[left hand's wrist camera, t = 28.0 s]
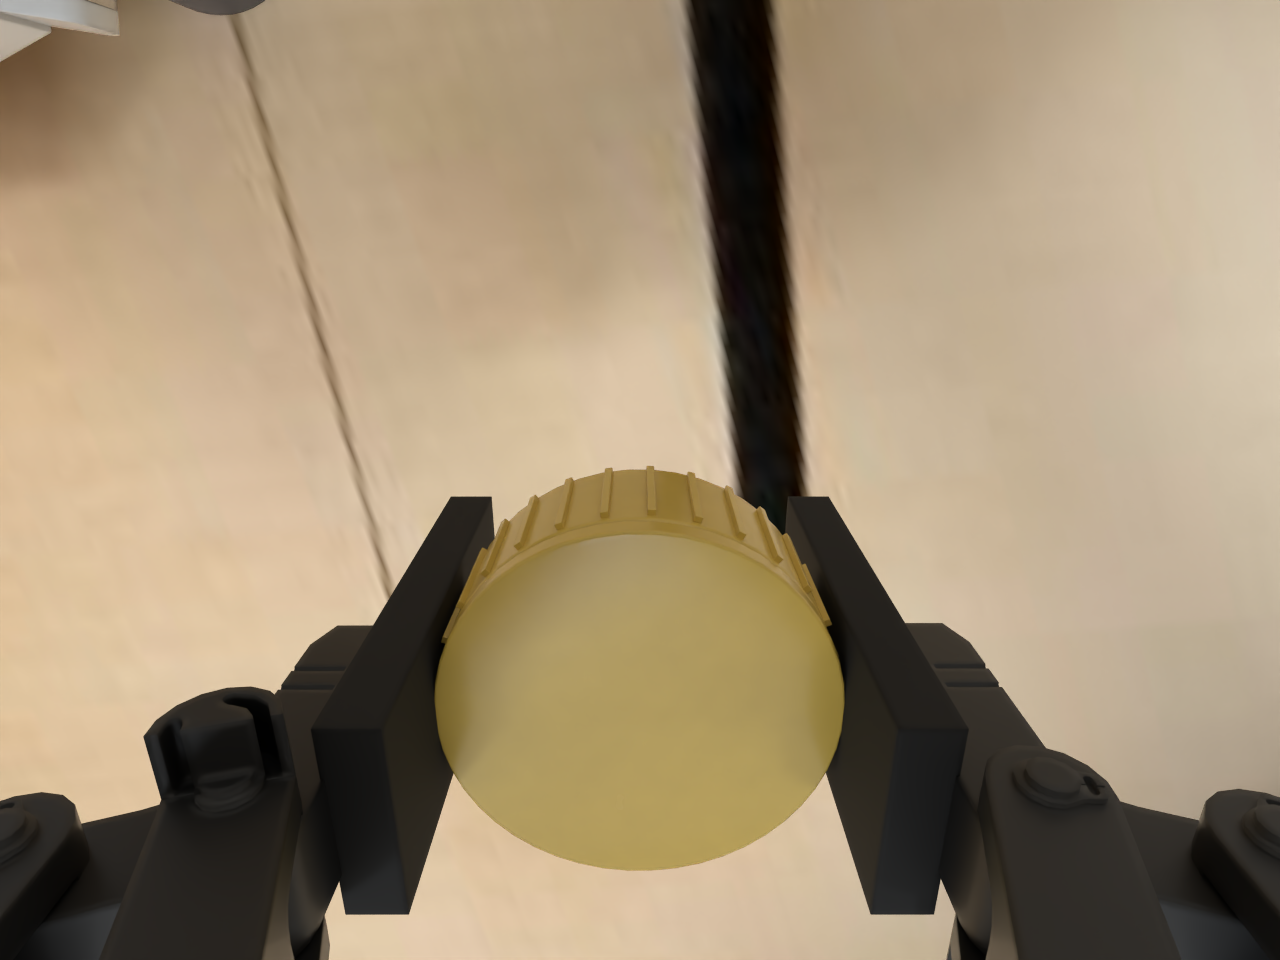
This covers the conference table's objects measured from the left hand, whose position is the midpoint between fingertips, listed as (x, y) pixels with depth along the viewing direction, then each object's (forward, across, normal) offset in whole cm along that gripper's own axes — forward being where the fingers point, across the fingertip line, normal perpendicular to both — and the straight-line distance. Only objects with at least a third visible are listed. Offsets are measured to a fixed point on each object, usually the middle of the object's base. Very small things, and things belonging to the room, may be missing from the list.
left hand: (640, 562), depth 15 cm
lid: (-4, 0, 0) cm, 4 cm away
